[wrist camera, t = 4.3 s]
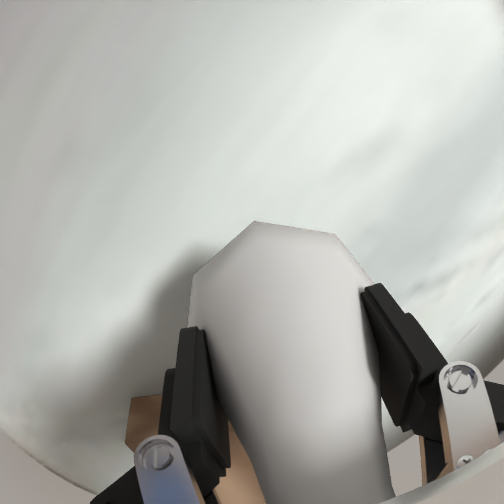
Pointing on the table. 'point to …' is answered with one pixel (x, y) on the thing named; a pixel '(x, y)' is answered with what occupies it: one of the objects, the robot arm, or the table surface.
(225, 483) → the flat wooden block
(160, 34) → the table surface
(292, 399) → the flask
